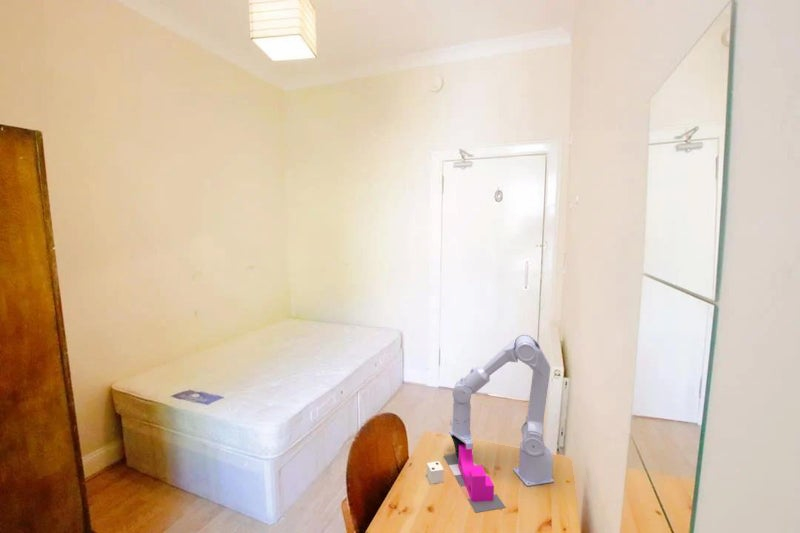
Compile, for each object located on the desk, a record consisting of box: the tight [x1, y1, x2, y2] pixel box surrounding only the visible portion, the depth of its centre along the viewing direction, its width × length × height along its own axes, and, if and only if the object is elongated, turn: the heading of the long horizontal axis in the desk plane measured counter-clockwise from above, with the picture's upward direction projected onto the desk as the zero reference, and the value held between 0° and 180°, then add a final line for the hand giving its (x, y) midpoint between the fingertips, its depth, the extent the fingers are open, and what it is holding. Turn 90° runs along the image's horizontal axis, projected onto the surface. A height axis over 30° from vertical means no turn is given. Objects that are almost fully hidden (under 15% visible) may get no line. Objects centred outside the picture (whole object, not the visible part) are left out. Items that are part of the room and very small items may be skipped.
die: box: [426, 461, 445, 485], centre depth 106 cm, size 4×4×4 cm
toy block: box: [458, 445, 495, 502], centre depth 104 cm, size 15×6×8 cm, turn 5°
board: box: [443, 453, 506, 514], centre depth 106 cm, size 9×25×1 cm, turn 13°
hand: (460, 457), depth 115 cm, fingers closed
